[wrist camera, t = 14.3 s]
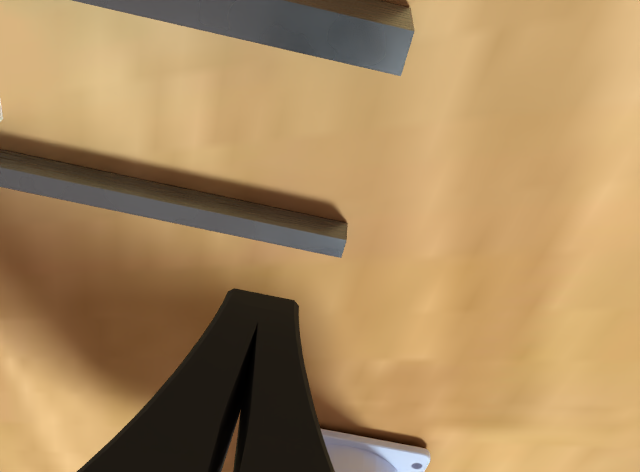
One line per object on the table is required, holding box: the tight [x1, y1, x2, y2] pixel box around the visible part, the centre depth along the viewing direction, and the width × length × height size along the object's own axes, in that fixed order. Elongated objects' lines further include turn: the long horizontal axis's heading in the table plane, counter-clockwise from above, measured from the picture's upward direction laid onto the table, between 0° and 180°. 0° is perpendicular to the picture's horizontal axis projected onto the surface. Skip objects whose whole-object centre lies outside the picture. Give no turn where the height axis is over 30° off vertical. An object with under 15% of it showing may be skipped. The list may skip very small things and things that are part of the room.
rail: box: [0, 0, 414, 258], centre depth 17 cm, size 8×17×3 cm, turn 78°
